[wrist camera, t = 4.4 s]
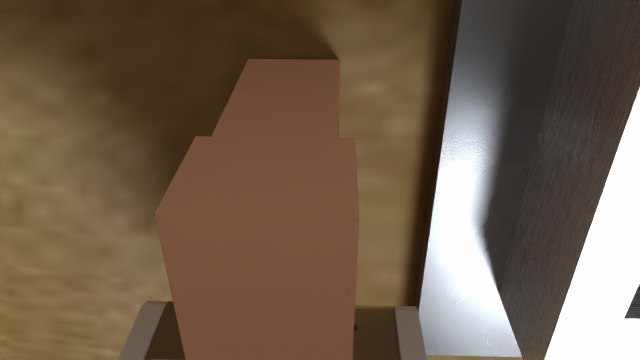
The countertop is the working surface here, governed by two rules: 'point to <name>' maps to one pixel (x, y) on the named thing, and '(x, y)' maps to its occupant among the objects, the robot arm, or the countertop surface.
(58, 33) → the countertop surface
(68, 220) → the countertop surface
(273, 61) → the clip
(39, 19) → the countertop surface
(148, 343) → the robot arm
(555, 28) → the grey slotted holder
